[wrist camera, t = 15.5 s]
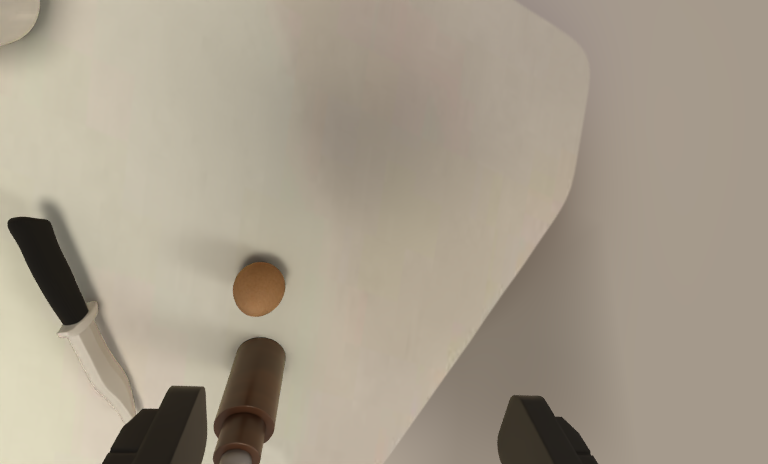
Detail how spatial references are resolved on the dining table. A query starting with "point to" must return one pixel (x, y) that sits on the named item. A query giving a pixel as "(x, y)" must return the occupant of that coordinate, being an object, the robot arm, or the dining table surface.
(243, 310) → the egg
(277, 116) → the dining table surface
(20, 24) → the mug
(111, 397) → the knife
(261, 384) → the pepper grinder
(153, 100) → the dining table surface
